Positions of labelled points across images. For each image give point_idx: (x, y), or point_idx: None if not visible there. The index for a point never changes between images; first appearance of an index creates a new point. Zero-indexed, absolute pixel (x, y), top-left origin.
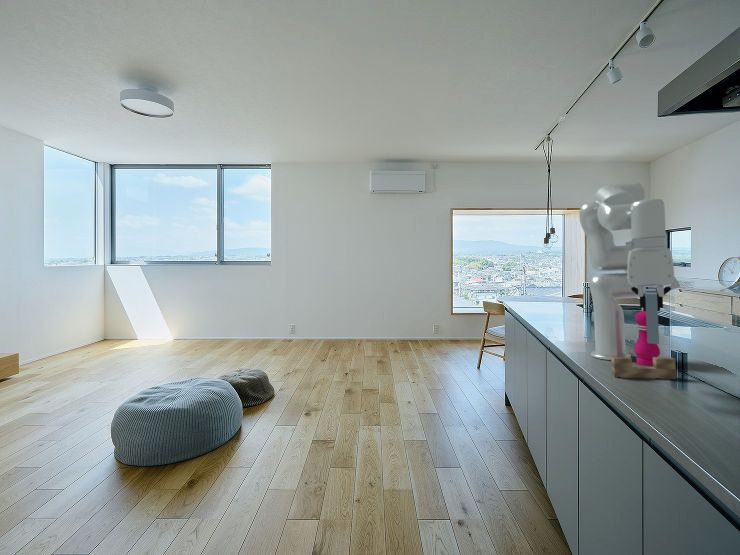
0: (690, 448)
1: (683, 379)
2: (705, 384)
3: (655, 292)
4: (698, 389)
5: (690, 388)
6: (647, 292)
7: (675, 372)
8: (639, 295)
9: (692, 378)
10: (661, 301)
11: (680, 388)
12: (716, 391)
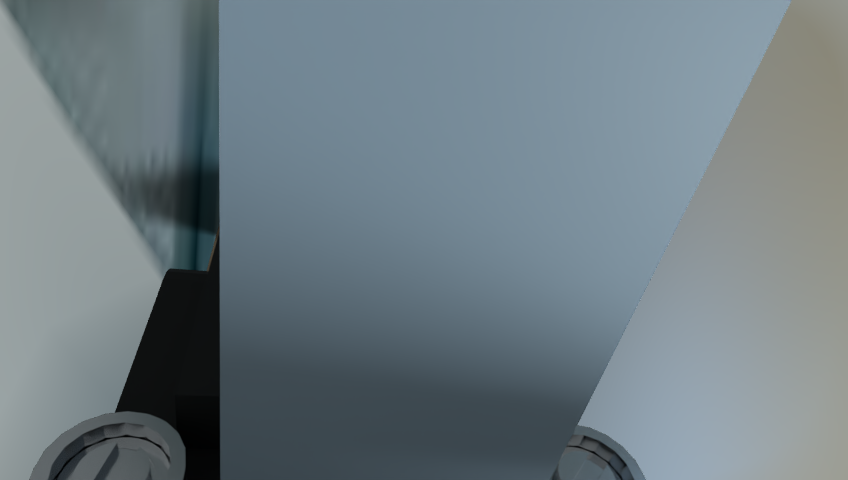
0: None
1: (191, 213)
2: (98, 157)
3: (259, 349)
4: (129, 55)
5: (166, 62)
6: (528, 385)
7: (219, 228)
8: (602, 466)
9: (153, 240)
10: (164, 348)
11: (213, 46)
12: (46, 44)
